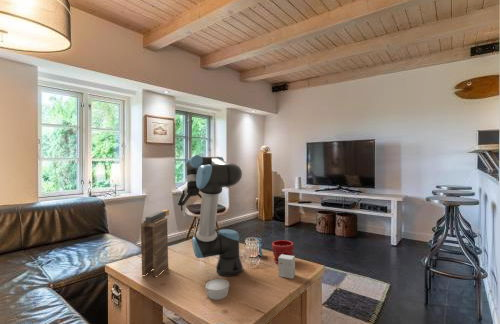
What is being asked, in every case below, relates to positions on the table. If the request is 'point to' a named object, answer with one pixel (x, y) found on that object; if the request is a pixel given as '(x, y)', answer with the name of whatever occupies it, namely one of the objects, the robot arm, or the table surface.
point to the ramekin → (217, 289)
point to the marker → (156, 216)
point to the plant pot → (282, 248)
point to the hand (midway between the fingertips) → (194, 214)
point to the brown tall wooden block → (154, 246)
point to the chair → (259, 246)
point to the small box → (286, 266)
